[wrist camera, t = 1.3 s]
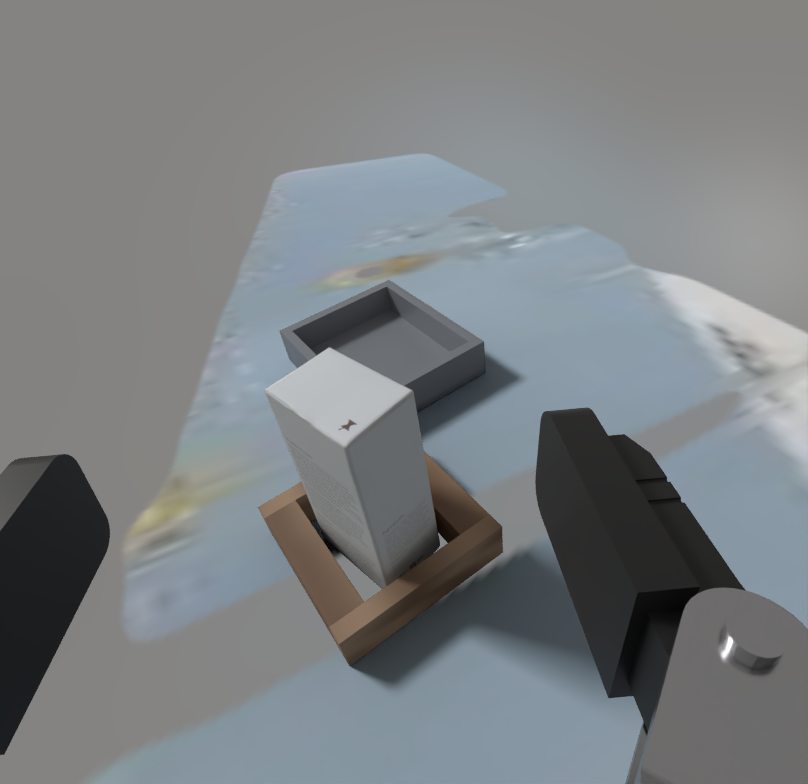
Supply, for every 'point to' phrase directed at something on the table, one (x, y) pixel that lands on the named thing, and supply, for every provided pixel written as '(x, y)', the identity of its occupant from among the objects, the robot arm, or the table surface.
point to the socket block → (408, 595)
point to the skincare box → (359, 462)
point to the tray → (393, 341)
